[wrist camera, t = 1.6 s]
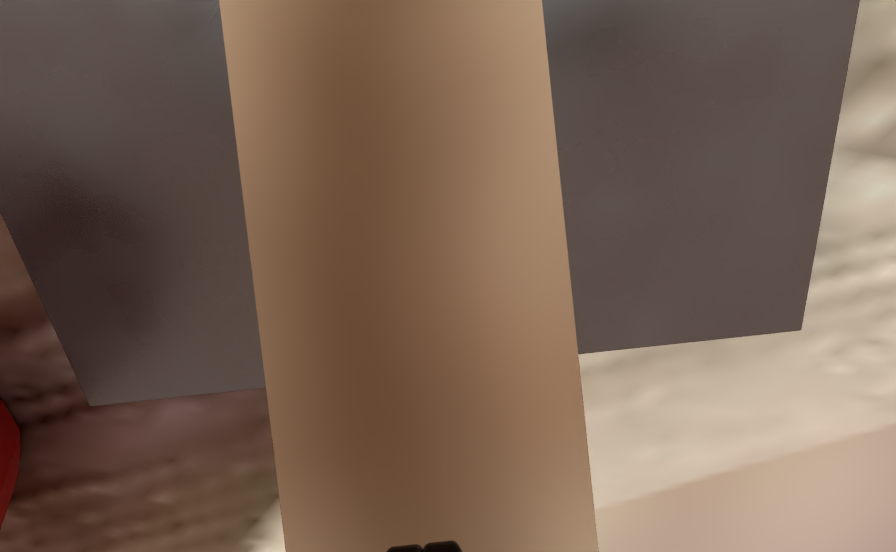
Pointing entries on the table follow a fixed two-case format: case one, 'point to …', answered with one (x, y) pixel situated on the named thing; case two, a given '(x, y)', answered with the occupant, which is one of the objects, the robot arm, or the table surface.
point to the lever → (411, 273)
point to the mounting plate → (579, 156)
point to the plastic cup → (8, 458)
